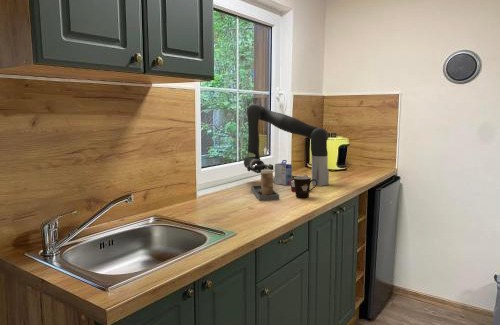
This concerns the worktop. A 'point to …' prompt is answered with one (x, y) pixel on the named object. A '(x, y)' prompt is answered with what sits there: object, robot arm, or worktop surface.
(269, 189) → the walnut peg
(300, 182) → the coffee mug
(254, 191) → the holder tray
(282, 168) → the ink cartridge box
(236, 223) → the worktop surface
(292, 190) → the canned food
